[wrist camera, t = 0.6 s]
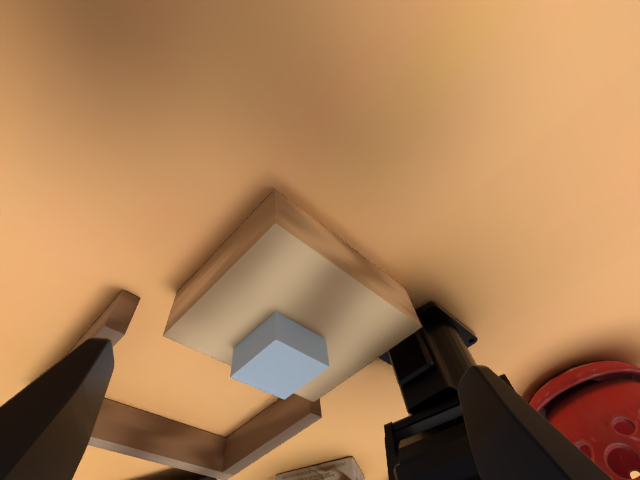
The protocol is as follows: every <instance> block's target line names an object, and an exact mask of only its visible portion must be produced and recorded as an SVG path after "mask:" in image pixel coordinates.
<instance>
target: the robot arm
mask: <svg viewBox="0 0 640 480" xmlns="http://www.w3.org/2000/svg"><path fill="white" fill-rule="evenodd" d="M432 308H433V309H432ZM416 314H417V316H418V318H419V321H420V323H421V325H422V327H421V328H420V329H419V330H417V331H416V332H414V333H413V334H411V335H410V336H408V337H407V338H406V339H404V340H403V341H401V342H400V343H398V344H397V345H395V346H394V347H393V348H391V349H390V350H388V351H387V352H385V353H384V354H382V355H381V356H380V357H378V358H380V359H382V360H383V361H385V362H387V363H389V364H390V365H392V366H393V370H394V373H395V376H396V379H397V382H398V384H399V387H400V390H401V393H402V396H403V399H404V403H405V406H406V409H407V412H408V414H409V416H408V417H406V418H403V419H401V420H399V421H396V422H394V423H392V422H390V423H388V424H385V425H384V429H385V447H386V457H387V466H388V476H389V480H613V479H612V478H611V477H610V476H609V475H608V474H607V473H605V472H604V471H603V470H602V469H601V468H600V467H599V466H598V465H597V464H595V463H594V462H593V461H592V460H591V459H590V458H589V457H588V456H587V455H585V454H584V453H583V452H582V451H581V450H580V449H579V448H578V447H576V446H575V445H574V444H573V443H572V442H571V441H570V440H569V439H568V438H566V437H565V436H564V435H563V434H562V433H561V432H560V431H559V430H558V429H556V428H555V427H554V426H553V425H552V424H551V423H550V422H549V421H548V420H546V419H545V418H544V417H543V416H542V415H541V414H540V413H539V412H537V411H536V410H535V409H534V408H533V407H532V406H531V405H530V404H529V403H527V402H526V401H525V400H524V399H523V398H522V397H521V396H520V395H519V394H517V393H516V392H515V390H514V388H513V387H512V385H511V384H510V382H509V380H508V379H507V377H506V375H505V374H503V375H500V376H497V375H496V374H495V373H494V372H493V371H492V370H491V369H489V368H488V367H486V366H483V365H476V363H475V361H474V359H473V357H472V355H471V354H470V352H469V350H468V347H469V346H471V345H473V344H474V343H476V342H477V337H476V335H475V334H474V333H473V332H472V331H470V330H469V329H468V328H467V327H465V326H464V325H463V324H462V323H460V322H459V321H458V320H457V319H455V318H454V317H453V316H452V315H450V314H449V313H448V312H447V311H445V310H444V309H443V308H442V307H440V306H439V305H438V304H437V303H435V302H430V303H428V304H426V305H424V306H423V307H422V308H420V309H419V310H417V311H416ZM113 369H114V355H113V348H112V342H111V340H110V339H109V338H102V337H90V338H88V339H86V340H85V341H84V342H83V343H81V344H80V345H79V346H77V347H76V348H75V349H74V350H72V351H71V352H70V353H68V354H67V355H66V356H65V357H63V358H62V359H61V360H60V361H58V362H57V363H56V364H54V365H53V366H52V367H51V368H49V369H48V370H47V371H45V372H44V373H43V374H42V375H40V376H39V377H38V378H37V379H35V380H34V381H33V382H31V383H30V384H29V385H28V386H26V387H25V388H24V389H22V390H21V391H20V392H19V393H17V394H16V395H15V396H14V397H12V398H11V399H10V400H8V401H7V402H6V403H5V404H3V405H2V406H1V407H0V480H72V478H73V476H74V474H75V472H76V470H77V467H78V465H79V463H80V461H81V459H82V456H83V454H84V452H85V450H86V447H87V445H88V443H89V440H90V437H91V435H92V432H93V429H94V426H95V423H96V420H97V417H98V414H99V411H100V408H101V405H102V402H103V399H104V396H105V393H106V390H107V388H108V385H109V382H110V379H111V376H112V373H113Z"/></svg>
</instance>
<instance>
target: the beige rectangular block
mask: <svg viewBox="0 0 640 480" xmlns="http://www.w3.org/2000/svg"><path fill="white" fill-rule="evenodd" d="M274 312H278V313H280V314H281V315H283V316H285V317H287V318H289V319H290V320H292V321H294V322H296V323H297V324H299V325H301V326H303V327H305V328H306V329H308V330H310V331H312V332H314V333H315V334H317V335H319V336H321V337H323V338H324V339H326V345H327V352H328V359H329V366H330V367H329V368H327V369H326V370H325V371H323V372H322V373H321V374H319V375H318V376H316V377H315V378H314V379H312V380H311V381H310V382H308V383H307V384H305V385H304V386H303V387H301V388H300V389H298V390H297V391H296V392H294V394H297V395H299V396H301V397H304V398H306V399H308V400H310V401H313V402H315V401H316V400H317V399H319V398H320V397H322V396H323V395H325V394H326V393H328V392H329V391H330V390H332V389H333V388H335V387H336V386H338V385H339V384H341V383H342V382H343V381H345V380H346V379H348V378H349V377H351V376H352V375H354V374H355V373H356V372H358V371H359V370H361V369H362V368H364V367H365V366H367V365H368V364H369V363H371V362H372V361H374V360H375V359H377V358H378V357H380V356H381V355H382V354H384V353H385V352H387V351H388V350H390V349H391V348H393V347H394V346H395V345H397V344H398V343H400V342H401V341H403V340H404V339H406V338H407V337H408V336H410V335H411V334H413V333H414V332H416V331H417V330H419V329H420V328H421V327H422V325H421V323H420V321H419V318H418V316H417V314H416V312H415V310H414V307H413V305H412V303H411V301H410V298H409V296H408V294H407V292H406V289H405V288H404V287H402V286H401V285H400V284H398V283H397V282H396V281H394V280H393V279H392V278H391V277H389V276H388V275H387V274H385V273H384V272H383V271H381V270H380V269H379V268H378V267H376V266H375V265H374V264H372V263H371V262H370V261H368V260H367V259H366V258H365V257H363V256H362V255H361V254H359V253H358V252H357V251H355V250H354V249H353V248H351V247H350V246H349V245H348V244H346V243H345V242H344V241H342V240H341V239H340V238H338V237H337V236H336V235H335V234H333V233H332V232H331V231H329V230H328V229H327V228H325V227H324V226H323V225H321V224H320V223H319V222H318V221H316V220H315V219H314V218H312V217H311V216H310V215H308V214H307V213H306V212H305V211H303V210H302V209H301V208H299V207H298V206H297V205H295V204H294V203H293V202H292V201H290V200H289V199H288V198H286V197H285V196H284V195H282V194H281V193H280V192H278V191H277V190H276V189H274V191H273V192H272V193H271V194H270V195H269V196H268V197H267V198H266V199H265V200H264V201H263V202H262V203H261V204H260V205H259V206H258V207H257V208H256V210H255V211H254V212H253V213H252V214H251V215H250V216H249V217H248V218H247V219H246V220H245V221H244V222H243V223H242V224H241V225H240V226H239V228H238V229H237V230H236V231H235V232H234V233H233V234H232V235H231V236H230V237H229V238H228V239H227V240H226V241H225V242H224V243H223V244H222V245H221V247H220V248H219V249H218V250H217V251H216V252H215V253H214V254H213V255H212V256H211V257H210V258H209V259H208V260H207V261H206V262H205V263H204V265H203V266H202V267H201V268H200V269H199V270H198V271H197V272H196V273H195V274H194V275H193V276H192V277H191V278H190V279H189V280H188V281H187V282H186V284H185V285H184V286H183V287H182V288H181V289H180V290H179V291H178V292H177V293H176V296H175V299H174V303H173V306H172V309H171V312H170V315H169V318H168V321H167V324H166V327H165V331H164V334H163V336H164V337H166V338H169V339H171V340H173V341H175V342H178V343H180V344H182V345H185V346H187V347H189V348H191V349H194V350H196V351H198V352H201V353H203V354H205V355H207V356H210V357H212V358H214V359H217V360H219V361H221V362H223V363H226V364H228V365H230V366H231V365H232V357H233V348H234V347H236V346H237V345H238V344H239V343H240V342H241V341H242V340H244V339H245V338H246V337H247V336H248V335H249V334H250V333H251V332H253V331H254V330H255V329H256V328H257V327H258V326H260V325H261V324H262V323H263V322H264V321H265V320H266V319H268V318H269V317H270V316H271V315H272V314H273V313H274Z"/></svg>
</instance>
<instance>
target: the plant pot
mask: <svg viewBox="0 0 640 480" xmlns="http://www.w3.org/2000/svg"><path fill="white" fill-rule="evenodd" d="M529 404H530V405H531V406H532V407H533V408H534V409H535V410H536V411H537V412H539V413H540V414H541V415H542V416H543V417H544V418H545V419H546V420H548V421H549V422H550V423H551V424H552V425H553V426H554V427H555V428H556V429H558V430H559V431H560V432H561V433H562V434H563V435H564V436H565V437H566V438H568V439H569V440H570V441H571V442H572V443H573V444H574V445H575V446H576V447H578V448H579V449H580V450H581V451H582V452H583V453H584V454H585V455H587V456H588V457H589V458H590V459H591V460H592V461H593V462H594V463H595V464H597V465H598V466H599V467H600V468H601V469H602V470H603V471H604V472H605V473H607V474H608V475H609V476H610V477H611V478H612V479H613V480H640V476H639V477H637V478H635V479H631V477H630V473H631V472H632V471H638V472H639V473H640V368H638V367H637V366H634V365H631V364H629V363H625V362H619V361H599V362H593V363H589V364H585V365H581V366H580V365H576V366H573V367H572V368H571V369H570V370H568V371H566V372H564V373H562V374H560V375H558V376H557V377H555V378H553V379H551V380H550V381H549V382H547V383H546V384H545V385H544V386H542V387H541V388H540V389H539V390H538V391H537V392H536V394H535V395H534V396H533V398H532V399H531V401H530V403H529Z"/></svg>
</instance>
